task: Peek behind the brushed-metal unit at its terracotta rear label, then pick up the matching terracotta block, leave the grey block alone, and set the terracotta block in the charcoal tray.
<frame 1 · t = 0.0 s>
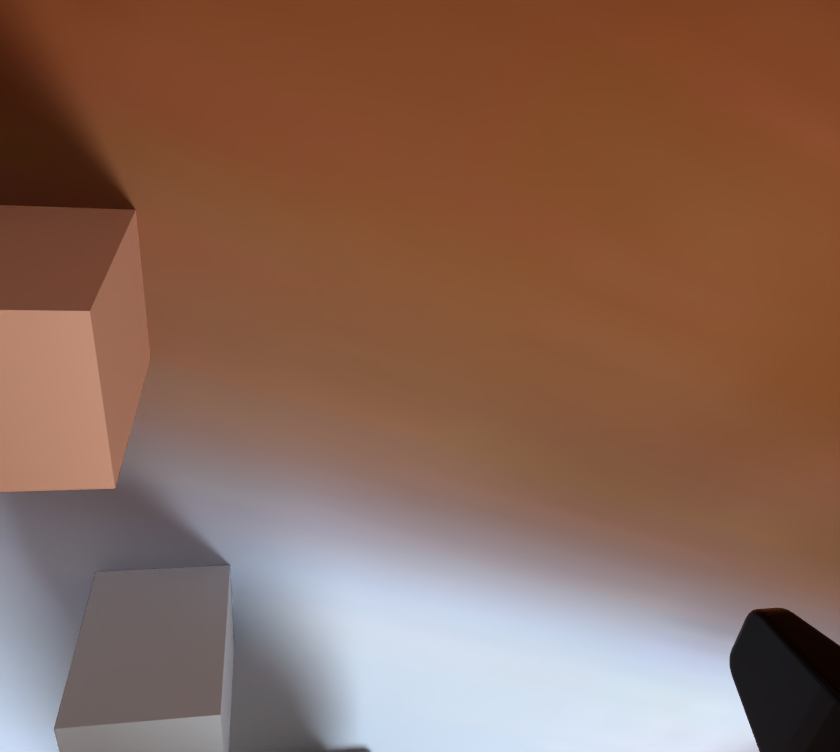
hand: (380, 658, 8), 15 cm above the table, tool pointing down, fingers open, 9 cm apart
terracotta block: (57, 285, 21), on the table
grey block: (169, 612, 28), on the table
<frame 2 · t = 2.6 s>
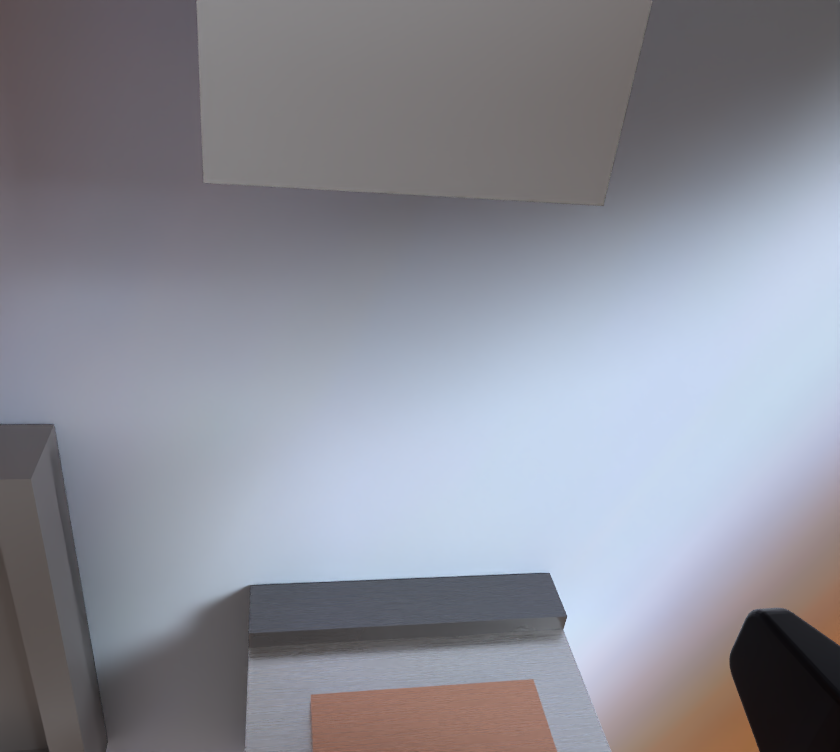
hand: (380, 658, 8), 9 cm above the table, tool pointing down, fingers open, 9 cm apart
mounted unit: (393, 666, 22), on the table
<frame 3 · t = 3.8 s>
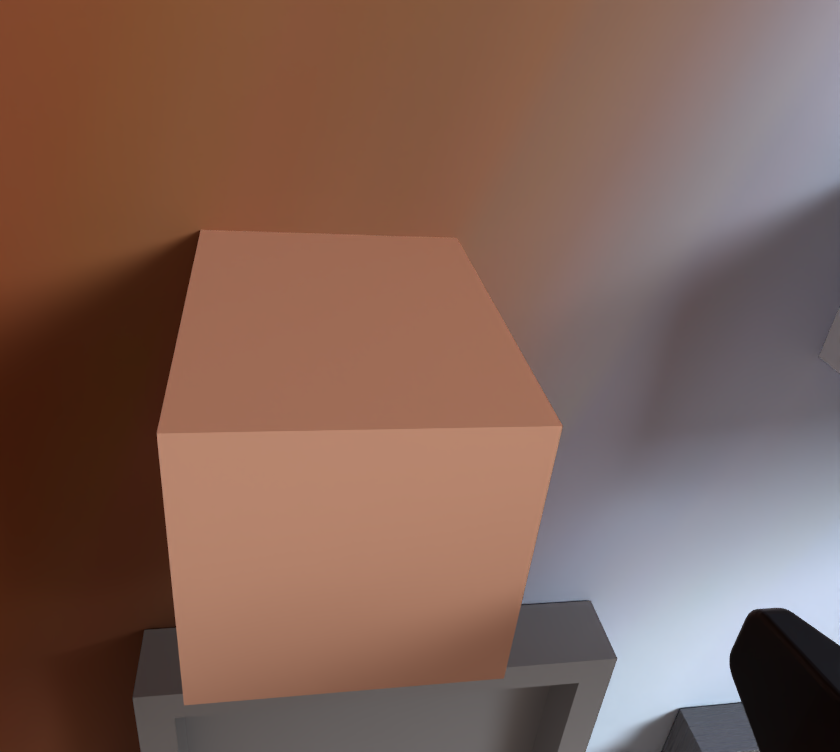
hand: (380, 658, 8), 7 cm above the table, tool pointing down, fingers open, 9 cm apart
charcoal tray: (366, 749, 21), on the table
terracotta block: (328, 344, 15), on the table
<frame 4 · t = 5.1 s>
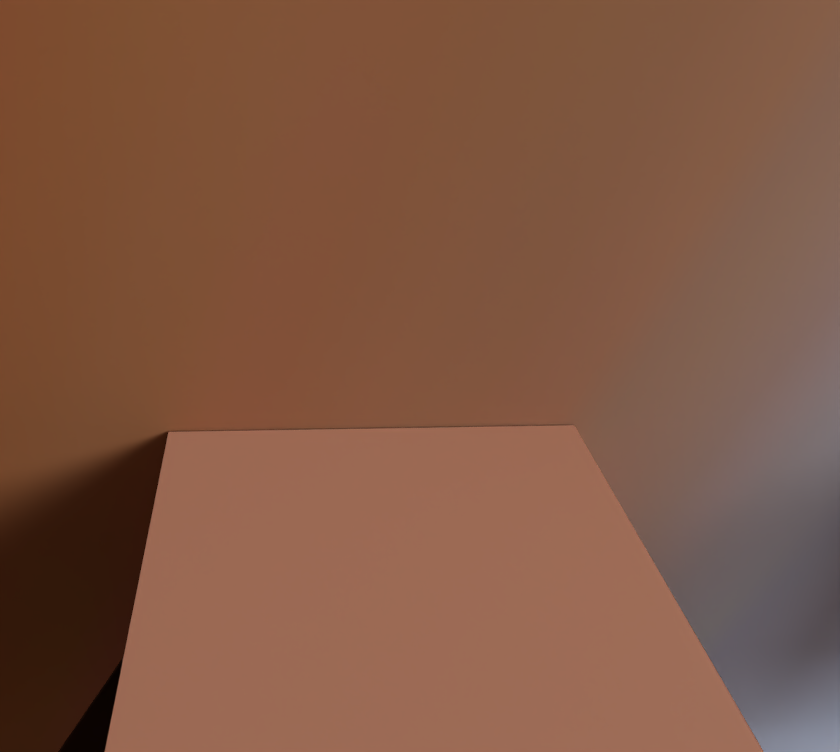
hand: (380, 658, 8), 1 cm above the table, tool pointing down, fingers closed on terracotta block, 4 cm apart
terracotta block: (369, 575, 10), on the table, touching gripper
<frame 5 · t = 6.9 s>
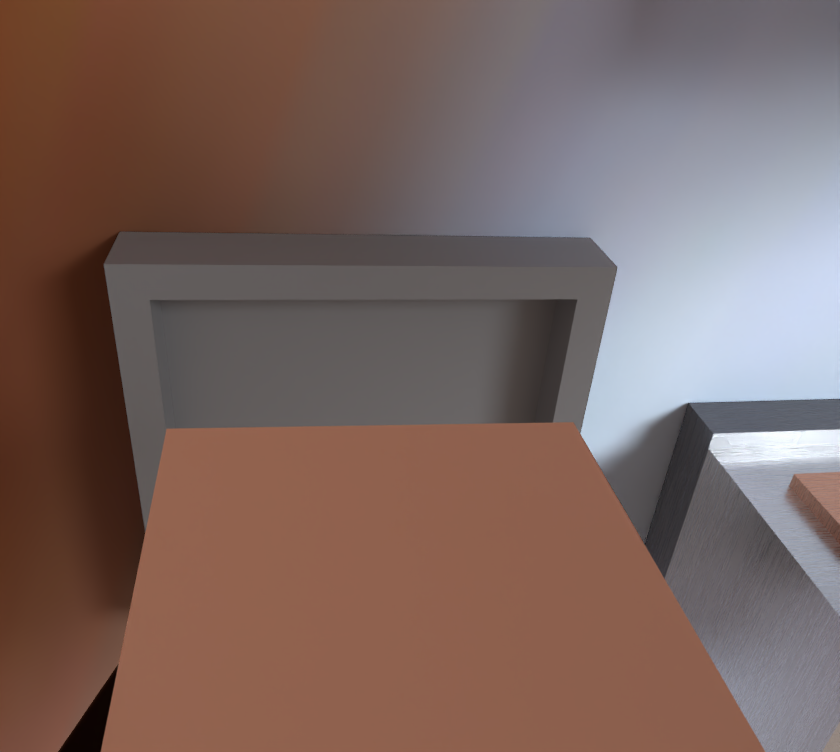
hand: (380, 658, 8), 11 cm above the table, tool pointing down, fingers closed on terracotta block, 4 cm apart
mounted unit: (775, 490, 24), on the table
charcoal tray: (359, 427, 21), on the table
terracotta block: (368, 572, 9), point 10 cm above the table, touching gripper
when the fingers open (3 cm above the table, at t = 9.0 s): terracotta block drops 2 cm, resting on charcoal tray.
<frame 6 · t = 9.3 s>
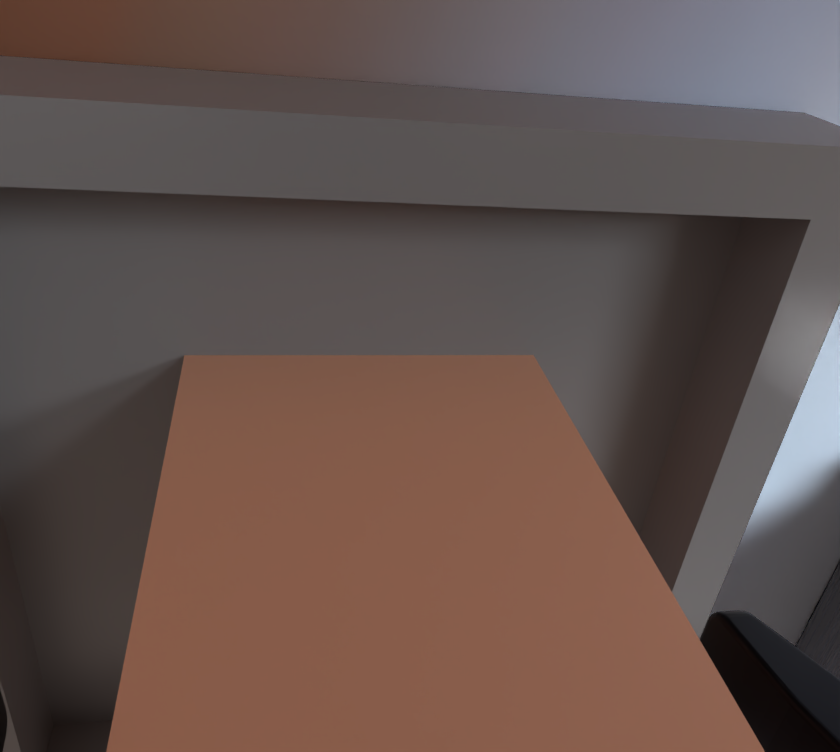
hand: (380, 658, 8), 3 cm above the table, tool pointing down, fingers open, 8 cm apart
charcoal tray: (351, 467, 11), on the table
terracotta block: (357, 491, 11), point 1 cm above the table, touching charcoal tray
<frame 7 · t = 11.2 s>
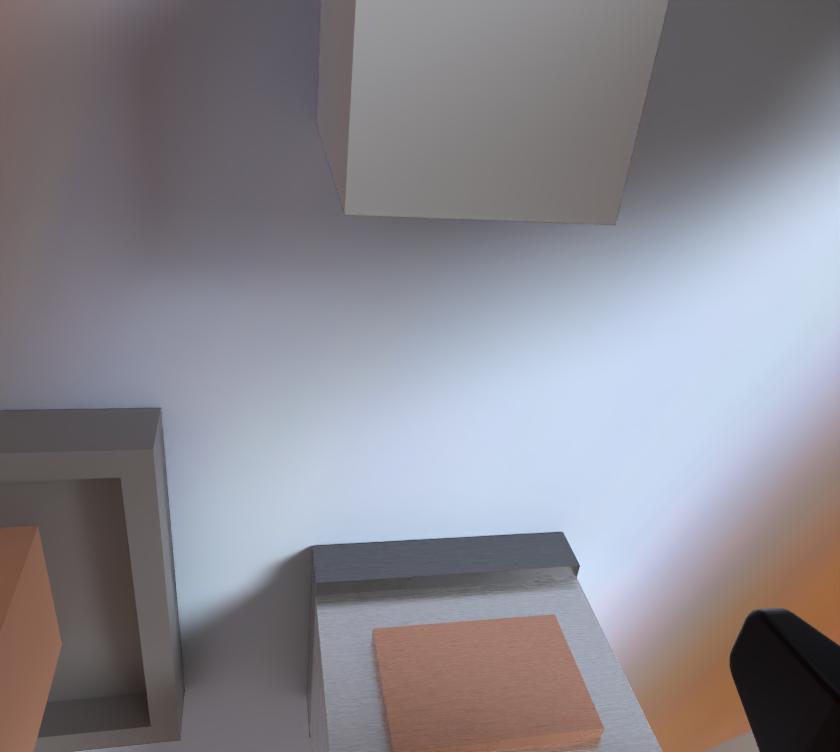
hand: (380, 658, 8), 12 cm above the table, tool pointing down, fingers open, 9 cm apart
mounted unit: (430, 618, 25), on the table
grey block: (427, 22, 16), on the table
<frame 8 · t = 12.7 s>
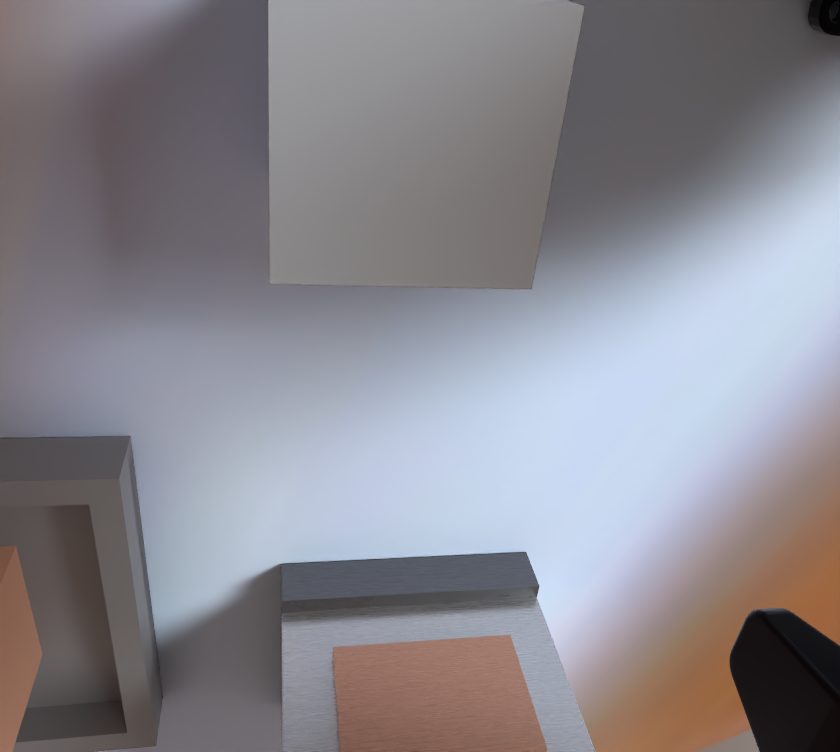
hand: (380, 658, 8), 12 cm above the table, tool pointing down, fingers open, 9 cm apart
mounted unit: (398, 632, 26), on the table
grey block: (374, 79, 17), on the table
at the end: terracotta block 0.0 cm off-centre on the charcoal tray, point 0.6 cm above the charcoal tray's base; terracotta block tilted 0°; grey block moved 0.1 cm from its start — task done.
